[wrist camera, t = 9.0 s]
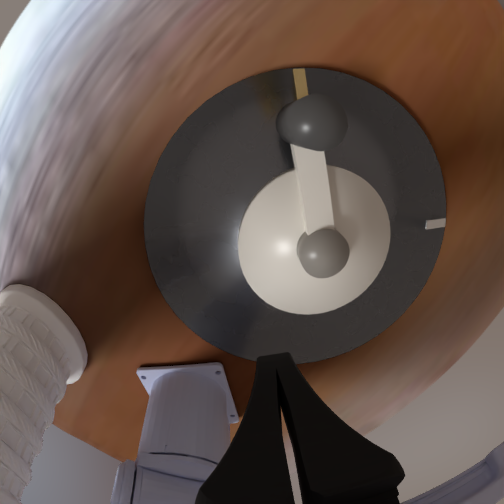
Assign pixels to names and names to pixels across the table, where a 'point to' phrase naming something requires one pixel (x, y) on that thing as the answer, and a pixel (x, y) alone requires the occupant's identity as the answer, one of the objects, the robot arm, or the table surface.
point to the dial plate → (253, 179)
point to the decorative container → (31, 378)
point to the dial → (313, 220)
